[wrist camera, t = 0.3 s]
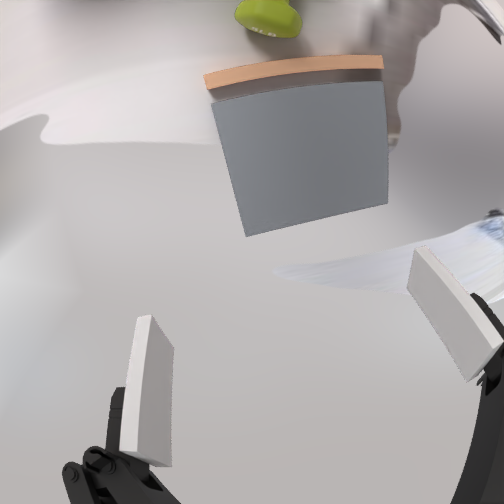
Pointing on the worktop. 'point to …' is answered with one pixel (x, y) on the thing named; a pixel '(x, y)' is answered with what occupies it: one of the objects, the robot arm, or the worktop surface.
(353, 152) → the board
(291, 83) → the worktop surface
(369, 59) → the strip
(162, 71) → the worktop surface
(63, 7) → the worktop surface
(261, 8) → the dumbbell
